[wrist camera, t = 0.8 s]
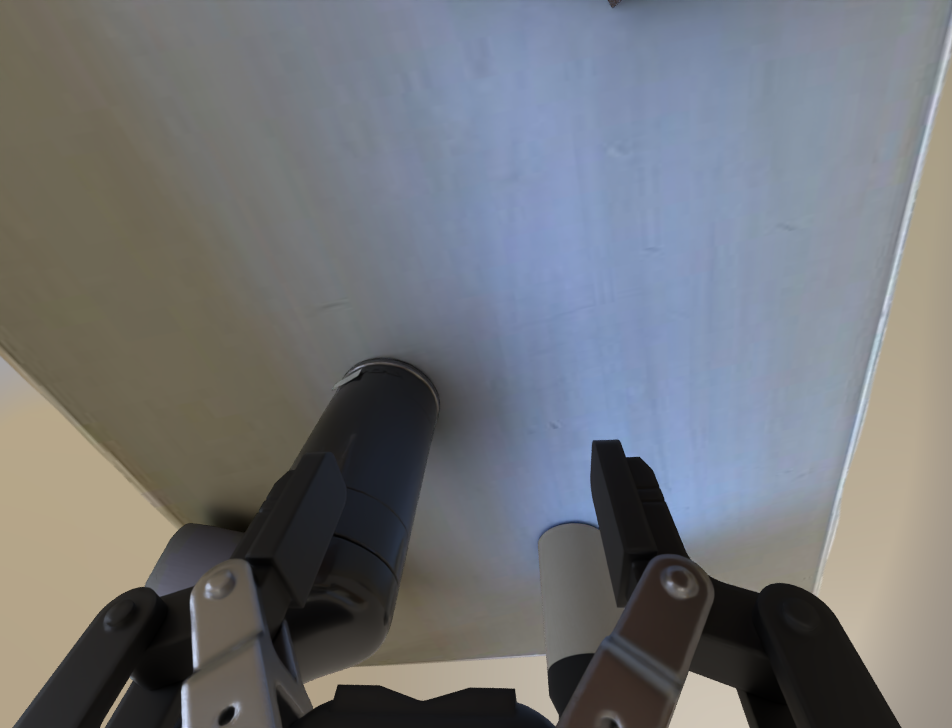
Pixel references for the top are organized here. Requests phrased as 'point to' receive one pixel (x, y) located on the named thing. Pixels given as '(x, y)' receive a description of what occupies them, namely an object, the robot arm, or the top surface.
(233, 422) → the top surface
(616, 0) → the shelf
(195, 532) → the bluetooth speaker
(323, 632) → the robot arm
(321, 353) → the top surface
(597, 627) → the travel mug
